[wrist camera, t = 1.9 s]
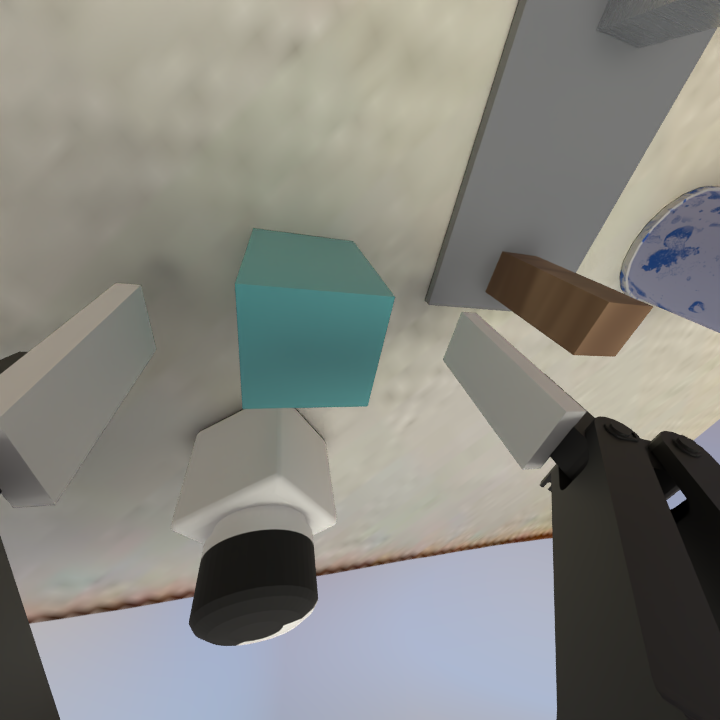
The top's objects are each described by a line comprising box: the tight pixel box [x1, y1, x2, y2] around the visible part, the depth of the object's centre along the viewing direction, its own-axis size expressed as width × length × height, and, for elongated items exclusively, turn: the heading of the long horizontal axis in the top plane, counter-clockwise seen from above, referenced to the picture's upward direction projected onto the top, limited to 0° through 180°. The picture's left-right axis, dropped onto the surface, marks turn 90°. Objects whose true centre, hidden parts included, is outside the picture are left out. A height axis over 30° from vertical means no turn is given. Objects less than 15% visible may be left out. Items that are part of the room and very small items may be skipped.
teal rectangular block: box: [235, 228, 395, 409], centre depth 14 cm, size 5×5×8 cm
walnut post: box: [485, 251, 653, 356], centre depth 16 cm, size 3×3×8 cm
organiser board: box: [425, 0, 717, 311], centre depth 16 cm, size 10×17×1 cm, turn 170°
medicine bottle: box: [171, 408, 337, 646], centre depth 19 cm, size 7×7×12 cm
